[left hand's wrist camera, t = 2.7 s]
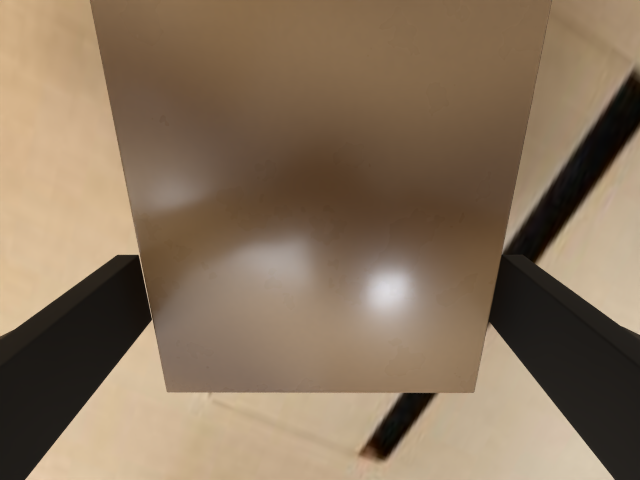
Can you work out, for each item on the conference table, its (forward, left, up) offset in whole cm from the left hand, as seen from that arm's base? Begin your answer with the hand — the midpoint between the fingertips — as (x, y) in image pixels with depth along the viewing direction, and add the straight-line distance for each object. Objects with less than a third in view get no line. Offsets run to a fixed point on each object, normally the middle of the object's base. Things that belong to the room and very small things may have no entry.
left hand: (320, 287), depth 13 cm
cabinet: (+5, -2, -9) cm, 11 cm away
